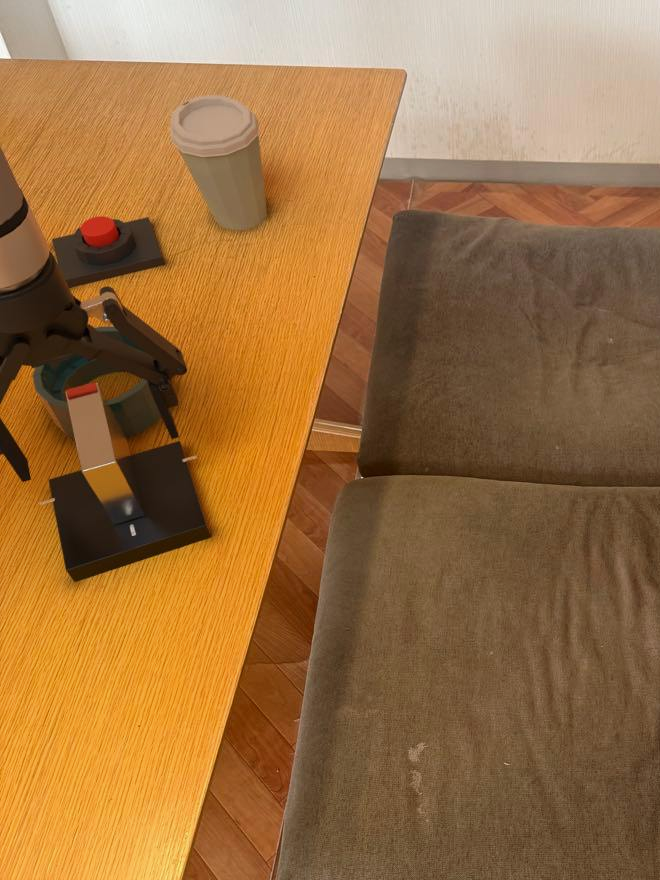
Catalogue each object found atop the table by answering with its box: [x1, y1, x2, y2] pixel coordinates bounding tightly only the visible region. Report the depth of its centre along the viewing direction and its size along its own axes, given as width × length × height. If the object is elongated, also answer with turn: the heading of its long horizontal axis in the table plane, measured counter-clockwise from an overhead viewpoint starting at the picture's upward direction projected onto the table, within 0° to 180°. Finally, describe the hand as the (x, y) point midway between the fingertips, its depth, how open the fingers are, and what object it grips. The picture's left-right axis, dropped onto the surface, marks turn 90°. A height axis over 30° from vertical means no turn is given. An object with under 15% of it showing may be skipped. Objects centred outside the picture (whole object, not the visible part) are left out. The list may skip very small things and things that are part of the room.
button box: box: [51, 216, 166, 289], centre depth 112 cm, size 12×9×4 cm
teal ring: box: [32, 326, 162, 439], centre depth 97 cm, size 13×13×6 cm
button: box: [79, 215, 119, 247], centre depth 110 cm, size 4×4×2 cm
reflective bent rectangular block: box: [65, 381, 145, 525], centre depth 86 cm, size 11×3×8 cm, turn 24°
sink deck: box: [39, 440, 213, 583], centre depth 90 cm, size 15×17×3 cm
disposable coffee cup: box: [169, 94, 268, 231], centre depth 113 cm, size 11×11×15 cm
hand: (100, 449), depth 86 cm, fingers open, 13 cm apart
